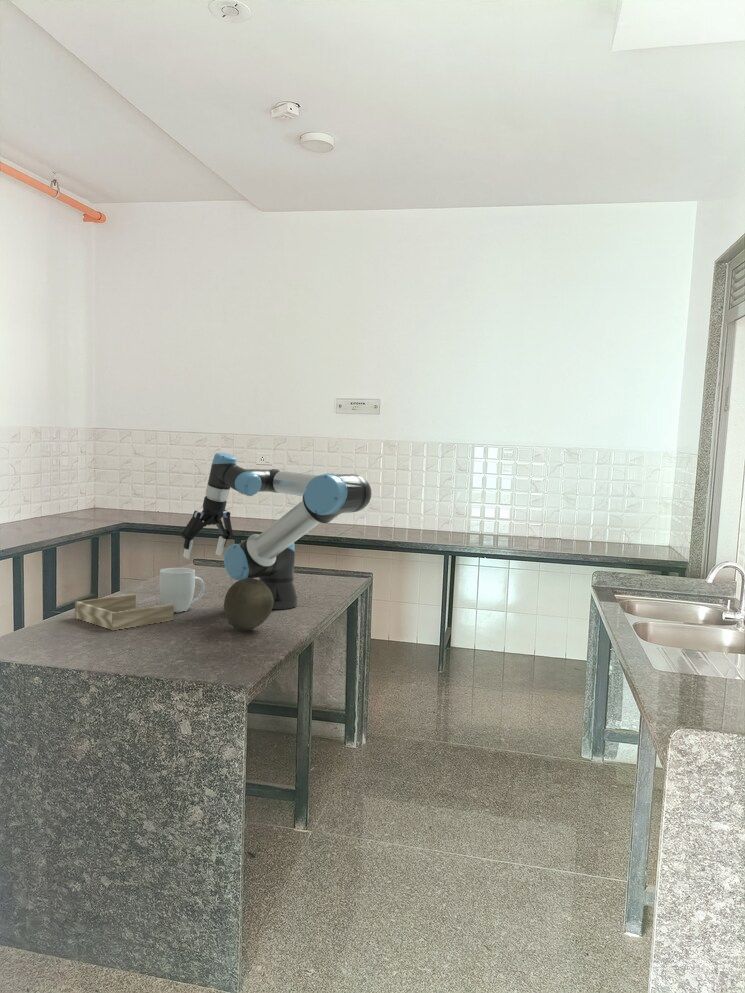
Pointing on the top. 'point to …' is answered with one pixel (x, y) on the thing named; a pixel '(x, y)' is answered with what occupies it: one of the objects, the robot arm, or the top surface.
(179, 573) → the mug
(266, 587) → the cantaloupe
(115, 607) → the corral
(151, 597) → the top surface
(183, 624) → the top surface
